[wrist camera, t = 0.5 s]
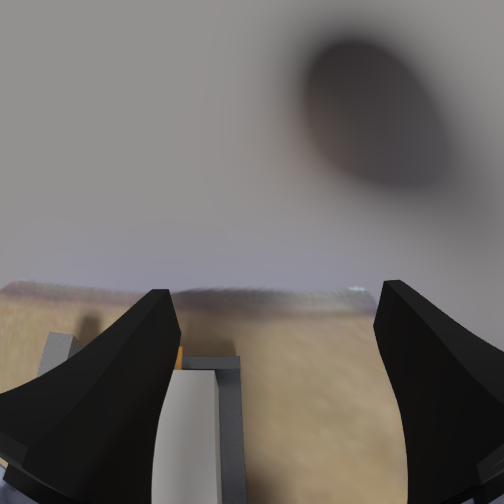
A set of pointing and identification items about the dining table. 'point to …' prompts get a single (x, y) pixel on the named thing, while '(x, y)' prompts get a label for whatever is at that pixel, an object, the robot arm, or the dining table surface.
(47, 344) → the gauge frame
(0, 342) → the dining table surface
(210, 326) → the dining table surface
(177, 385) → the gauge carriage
